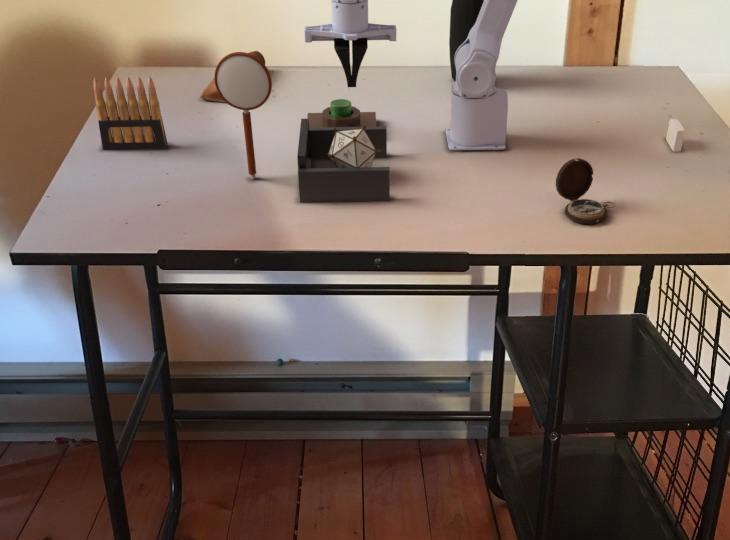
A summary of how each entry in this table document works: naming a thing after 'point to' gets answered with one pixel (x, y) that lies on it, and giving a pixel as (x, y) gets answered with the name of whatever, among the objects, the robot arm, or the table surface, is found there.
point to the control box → (342, 119)
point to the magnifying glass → (244, 91)
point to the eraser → (675, 135)
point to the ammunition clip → (129, 117)
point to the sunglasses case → (210, 90)
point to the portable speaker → (461, 25)
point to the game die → (351, 149)
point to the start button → (341, 108)
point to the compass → (579, 192)
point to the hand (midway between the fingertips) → (351, 85)
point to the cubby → (340, 180)
